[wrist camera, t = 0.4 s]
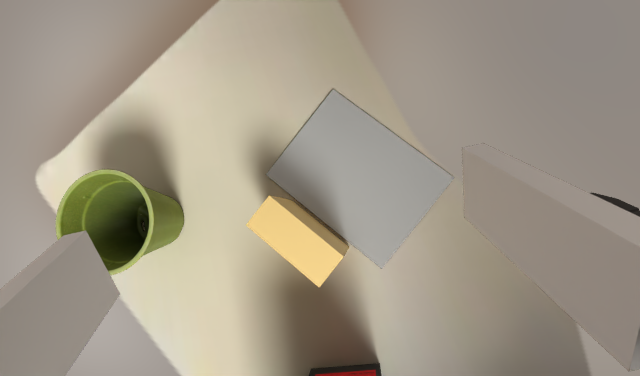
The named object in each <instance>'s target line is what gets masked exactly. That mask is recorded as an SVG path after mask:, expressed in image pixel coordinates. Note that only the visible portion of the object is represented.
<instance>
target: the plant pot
mask: <svg viewBox="0 0 640 376" xmlns="http://www.w3.org/2000/svg"><path fill="white" fill-rule="evenodd" d="M141 214H142V215H141ZM142 221H144V225H145V229H146V230H145V231H143V228H142V223H141V222H142ZM183 225H184V215H183V211H182V209H181V207H180V205H179V204H178V203H177V202H176V201H175V200H174V199H172V198H171V197H168V196H166V195H163V194H161V193H158V192H156V191H153V190H151V189H148V188H146V187H144V186H142V185H141V184H140V183H139V182H138V181H137V180H136V179H134V178H133V177H132V176H130V175H128V174H126V173H124V172H121V171H118V170H112V169H102V170H96V171H93V172H90V173H88V174H86V175H84V176H82V177H80V178H79V179H78V180H76V181H75V182H74V183H73V184H72V185H71V186H70V187H69V189H68V190H67V191H66V193H65V195H64V196H63V198H62V200H61V202H60V205H59V208H58V211H57V216H56V235H57V239H58V240H59V239H60V238H61V237H62V236H64V235H68V234H72V233H77V232H82V231H86V232H87V233H88V235H89V237H90V239H91V241H92V243H93V244H94V246H95V248H96V250H97V252H98V254H99V256H100V257H101V259H102V261H103V263H104V265H105V267H106V269H107V270H108V272H109V274H110V275H114V274H117V273H120V272H122V271H124V270H126V269H128V268H129V267H131V266H132V265H133V264H135V263H136V262H137V261H138V260H139V259H140V258H141V257H142V256H143V255H145V254H148V253H150V252H152V251H154V250H156V249H158V248H161V247H163V246H165V245H167V244H170V243H171V242H173V241H174V240H175V239H176V238H177V237H178V236H179V234H180V232H181V230H182V227H183Z"/></svg>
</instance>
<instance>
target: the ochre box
mask: <svg viewBox="0 0 640 376" xmlns="http://www.w3.org/2000/svg"><path fill="white" fill-rule="evenodd" d="M246 226H247V227H249V228H250V229H251V230H252V231H253V232H254V233H256V234H257V235H258V236H259V237H260V238H261V239H263V240H264V241H265V242H266V243H267V244H268V245H270V246H271V247H272V248H273V249H274V250H276V251H277V252H278V253H279V254H280V255H281V256H283V257H284V258H285V259H286V260H287V261H288V262H290V263H291V264H292V265H293V266H294V267H295V268H297V269H298V270H299V271H300V272H301V273H302V274H304V275H305V276H306V277H307V278H308V279H310V280H311V281H312V282H313V283H314V284H315V285H317V286H318V287H320V286H321V285H322V284H323V282H324V281H325V280H326V278H327V277H328V276H329V275H330V273H331V272H332V271H333V270H334V268H335V267H336V266H337V265H338V263H339V262H340V261H341V260H342V258H343V257H344V255H345V254H346V252H347V250H348V248H349V246H347V245H346V244H345V243H344V242H342V241H341V240H340V239H339V238H337V237H336V236H335V235H334V234H333V233H331V232H330V231H329V230H328V229H326V228H325V227H324V226H323V225H322V224H320V223H319V222H318V221H317V220H315V219H314V218H313V217H312V216H310V215H309V214H308V213H307V212H306V211H304V210H303V209H302V208H301V207H299V206H298V205H297V204H296V203H295V202H293V201H292V200H289V199H284V198H279V197H274V196H270V195H269V196H268V198H267V199H266V200H265V201H264V203H263V204H262V205H261V206H260V208H259V209H258V210H257V212H256V213H255V214H254V215H253V217H252V218H251V219H250V220H249V222H248V223H247V224H246Z"/></svg>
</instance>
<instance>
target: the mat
mask: <svg viewBox="0 0 640 376" xmlns="http://www.w3.org/2000/svg"><path fill="white" fill-rule="evenodd" d="M266 175H267V176H268V177H269V178H270V179H272V180H273V181H274V182H275V183H277V184H278V185H279V186H280V187H281V188H283V189H284V190H285V191H286V192H288V193H289V194H290V195H291V196H293V197H294V198H295V199H296V200H297V201H299V202H300V203H301V204H302V205H304V206H305V207H306V208H307V209H309V210H310V211H311V212H312V213H313V214H315V215H316V216H317V217H318V218H320V219H321V220H322V221H323V222H325V223H326V224H327V225H328V226H329V227H331V228H332V229H333V230H334V231H336V232H337V233H338V234H339V235H341V236H342V237H343V238H344V239H346V240H347V241H348V242H349V243H350V244H352V245H353V246H354V247H355V248H357V249H358V250H359V251H360V252H362V253H363V254H364V255H365V256H366V257H368V258H369V259H370V260H371V261H373V262H374V263H375V264H376V265H378V266H379V267H380V268H381V269H382V268H383V267H384V266H385V264H386V263H387V262H388V261H389V259H390V258H391V257H392V255H393V254H394V253H395V252H396V250H397V249H398V248H399V247H400V245H401V244H402V243H403V242H404V240H405V239H406V238H407V237H408V235H409V234H410V233H411V232H412V230H413V229H414V228H415V227H416V225H417V224H418V223H419V222H420V220H421V219H422V218H423V217H424V215H425V214H426V213H427V212H428V210H429V209H430V208H431V207H432V205H433V204H434V203H435V202H436V200H437V199H438V198H439V197H440V195H441V194H442V193H443V192H444V190H445V189H446V188H447V187H448V185H449V184H450V183H451V182H452V180H453V179H454V177H453V176H451V175H450V174H449V173H447V172H446V171H445V170H443V169H442V168H440V167H439V166H438V165H436V164H435V163H434V162H432V161H431V160H429V159H428V158H427V157H425V156H424V155H423V154H421V153H420V152H419V151H417V150H416V149H414V148H413V147H412V146H410V145H409V144H408V143H406V142H405V141H403V140H402V139H401V138H399V137H398V136H397V135H395V134H394V133H393V132H391V131H390V130H388V129H387V128H386V127H384V126H383V125H382V124H380V123H379V122H377V121H376V120H375V119H373V118H372V117H371V116H369V115H368V114H366V113H365V112H364V111H362V110H361V109H360V108H358V107H357V106H356V105H354V104H353V103H351V102H350V101H349V100H347V99H346V98H345V97H343V96H342V95H340V94H339V93H338V92H336V91H335V90H334V89H333V90H332V91H331V92H330V94H329V95H328V96H327V97H326V99H325V100H324V101H323V103H322V104H321V105H320V106H319V108H318V109H317V110H316V111H315V113H314V114H313V115H312V117H311V118H310V119H309V120H308V122H307V123H306V124H305V125H304V127H303V128H302V129H301V131H300V132H299V133H298V134H297V136H296V137H295V138H294V140H293V141H292V142H291V143H290V145H289V146H288V147H287V148H286V150H285V151H284V152H283V154H282V155H281V156H280V157H279V159H278V160H277V161H276V162H275V164H274V165H273V166H272V168H271V169H270V170H269V171H268V173H267V174H266Z"/></svg>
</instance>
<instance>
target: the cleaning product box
mask: <svg viewBox="0 0 640 376" xmlns="http://www.w3.org/2000/svg"><path fill="white" fill-rule="evenodd" d="M309 376H381V369H380V363H379V364H366V365H354V366H341V367H329V368H316V369H311V371H310V374H309Z"/></svg>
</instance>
